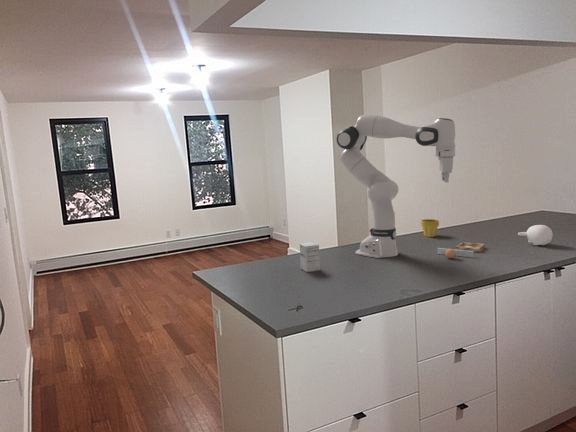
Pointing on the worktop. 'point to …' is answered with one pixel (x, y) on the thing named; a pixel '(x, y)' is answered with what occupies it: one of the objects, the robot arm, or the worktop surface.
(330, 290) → the worktop surface
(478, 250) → the birch tray
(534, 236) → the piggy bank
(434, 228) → the plant pot
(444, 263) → the worktop surface
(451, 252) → the coral ball
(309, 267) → the supplement box
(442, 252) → the aqua wall
